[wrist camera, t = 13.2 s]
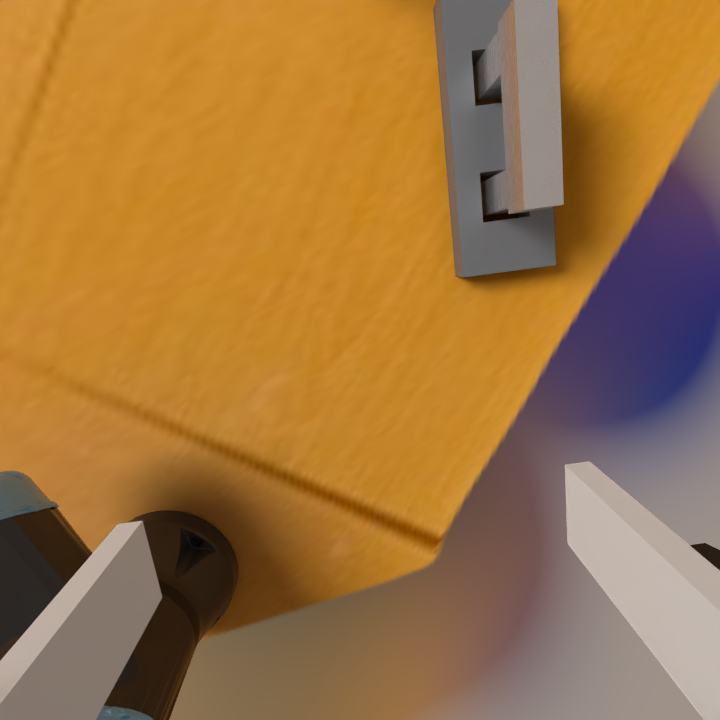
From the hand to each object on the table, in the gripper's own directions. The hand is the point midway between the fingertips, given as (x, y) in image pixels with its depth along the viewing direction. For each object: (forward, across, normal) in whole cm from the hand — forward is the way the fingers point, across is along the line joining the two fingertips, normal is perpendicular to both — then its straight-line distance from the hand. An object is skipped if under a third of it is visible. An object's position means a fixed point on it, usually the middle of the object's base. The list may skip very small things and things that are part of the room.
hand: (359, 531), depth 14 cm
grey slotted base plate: (+35, +16, +17) cm, 42 cm away
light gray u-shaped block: (+35, +16, +17) cm, 42 cm away
